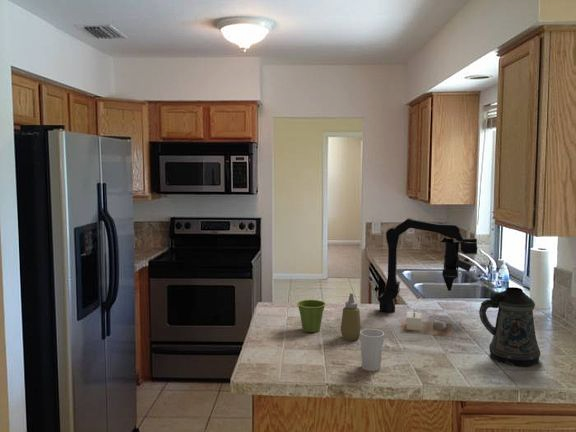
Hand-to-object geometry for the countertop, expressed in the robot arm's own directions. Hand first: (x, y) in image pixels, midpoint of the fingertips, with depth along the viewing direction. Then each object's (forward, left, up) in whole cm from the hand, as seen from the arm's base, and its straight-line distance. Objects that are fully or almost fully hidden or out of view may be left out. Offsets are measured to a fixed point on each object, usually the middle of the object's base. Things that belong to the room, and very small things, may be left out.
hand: (449, 288), depth 218 cm
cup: (-29, -60, -14) cm, 68 cm away
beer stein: (+18, -40, -14) cm, 47 cm away
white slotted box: (-15, -18, -13) cm, 27 cm away
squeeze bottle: (-39, -34, -14) cm, 54 cm away
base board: (-10, -18, -14) cm, 25 cm away
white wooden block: (-5, -18, -13) cm, 23 cm away
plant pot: (-56, -28, -14) cm, 64 cm away
